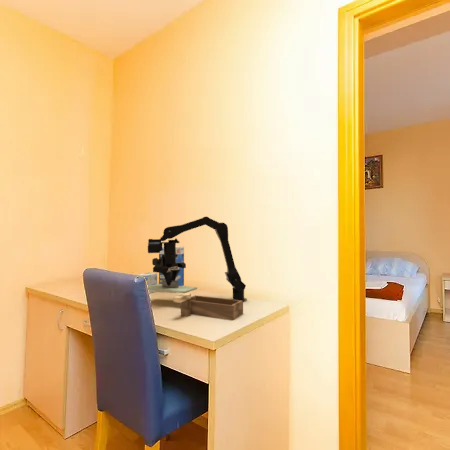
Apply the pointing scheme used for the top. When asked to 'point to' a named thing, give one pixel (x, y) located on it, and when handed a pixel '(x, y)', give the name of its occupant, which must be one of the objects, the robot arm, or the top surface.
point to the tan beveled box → (182, 297)
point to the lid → (171, 287)
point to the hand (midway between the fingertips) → (170, 285)
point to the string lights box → (181, 273)
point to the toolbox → (212, 307)
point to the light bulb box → (150, 279)
